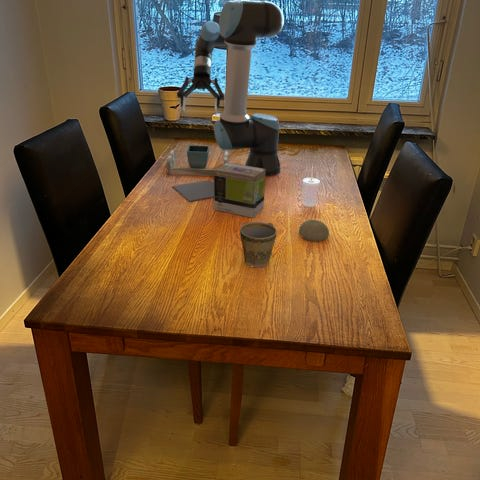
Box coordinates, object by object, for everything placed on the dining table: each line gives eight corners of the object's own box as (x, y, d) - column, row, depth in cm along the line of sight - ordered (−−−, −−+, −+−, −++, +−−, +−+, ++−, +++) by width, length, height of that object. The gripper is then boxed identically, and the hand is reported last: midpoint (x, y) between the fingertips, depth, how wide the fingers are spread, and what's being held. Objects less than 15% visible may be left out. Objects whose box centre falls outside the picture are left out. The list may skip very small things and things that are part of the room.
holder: (172, 161, 204) (171, 148, 201) (227, 163, 204) (228, 150, 202) (167, 174, 190) (166, 160, 187) (226, 176, 190) (226, 162, 187)
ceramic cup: (263, 275, 124) (265, 242, 119) (231, 264, 128) (232, 231, 124) (285, 255, 134) (288, 224, 129) (255, 245, 138) (257, 215, 133)
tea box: (264, 208, 163) (266, 168, 156) (253, 219, 155) (255, 177, 148) (226, 200, 168) (226, 160, 161) (213, 210, 160) (213, 169, 153)
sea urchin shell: (312, 241, 138) (303, 216, 140) (300, 249, 145) (291, 225, 147) (336, 235, 142) (327, 211, 143) (323, 243, 149) (315, 220, 150)
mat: (228, 194, 173) (228, 193, 172) (189, 202, 165) (189, 200, 165) (209, 180, 185) (209, 179, 185) (172, 187, 178) (172, 185, 177)
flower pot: (208, 172, 193) (208, 151, 189) (186, 172, 193) (186, 151, 189) (209, 166, 201) (209, 145, 197) (189, 165, 201) (188, 145, 197)
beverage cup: (320, 204, 167) (325, 167, 161) (310, 208, 163) (314, 171, 157) (306, 199, 171) (310, 162, 165) (296, 203, 167) (300, 166, 161)
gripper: (230, 76, 207) (228, 118, 201) (174, 73, 207) (171, 116, 201) (230, 65, 200) (228, 108, 194) (172, 63, 200) (169, 106, 194)
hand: (199, 112), depth 197 cm, fingers open, 13 cm apart
